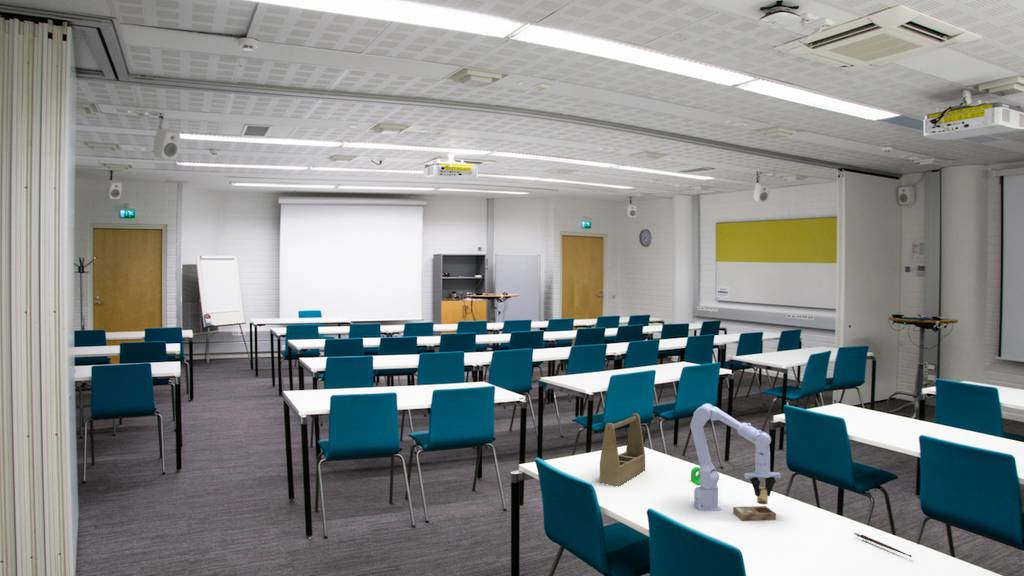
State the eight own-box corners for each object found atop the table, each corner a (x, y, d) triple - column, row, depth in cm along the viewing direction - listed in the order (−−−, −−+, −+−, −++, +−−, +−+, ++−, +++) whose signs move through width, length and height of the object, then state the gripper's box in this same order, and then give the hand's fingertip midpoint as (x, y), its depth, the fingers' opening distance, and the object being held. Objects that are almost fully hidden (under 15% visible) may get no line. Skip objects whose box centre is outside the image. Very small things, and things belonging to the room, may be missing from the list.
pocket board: (742, 520, 268) (742, 514, 268) (733, 512, 277) (733, 506, 277) (775, 519, 269) (775, 513, 269) (765, 512, 278) (765, 505, 278)
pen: (851, 534, 253) (910, 557, 233) (852, 531, 253) (911, 554, 233) (853, 534, 254) (912, 557, 233) (854, 531, 254) (913, 554, 233)
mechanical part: (697, 487, 312) (697, 470, 312) (691, 483, 318) (691, 467, 317) (720, 485, 315) (720, 468, 315) (712, 481, 321) (712, 465, 321)
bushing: (759, 504, 271) (759, 489, 271) (755, 501, 275) (755, 486, 275) (769, 504, 272) (769, 489, 272) (764, 500, 276) (764, 486, 276)
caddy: (626, 470, 340) (626, 411, 340) (645, 473, 334) (645, 414, 333) (599, 484, 316) (599, 421, 316) (619, 488, 310) (619, 424, 310)
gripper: (749, 465, 269) (749, 499, 269) (784, 465, 270) (784, 498, 270) (742, 460, 276) (742, 493, 276) (776, 460, 277) (775, 492, 277)
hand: (762, 495), depth 273 cm, fingers closed on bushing, 4 cm apart
